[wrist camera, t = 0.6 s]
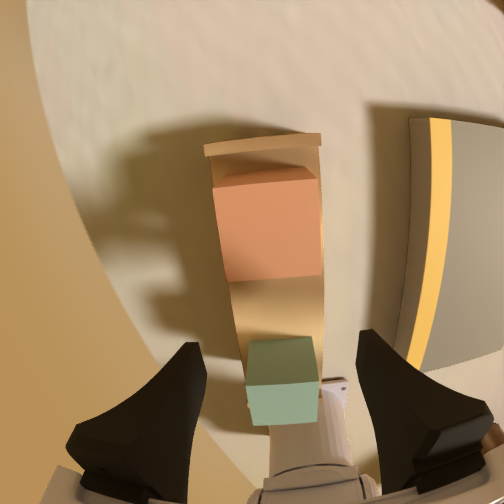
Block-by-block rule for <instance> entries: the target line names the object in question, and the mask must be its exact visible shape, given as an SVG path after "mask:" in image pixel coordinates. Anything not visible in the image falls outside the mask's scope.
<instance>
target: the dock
mask: <svg viewBox="0 0 504 504" xmlns="http://www.w3.org/2000/svg"><path fill="white" fill-rule="evenodd" d="M409 132H410V154H411V202H410V225H409V240H408V252H407V262H406V271H405V280H404V287H403V295H402V301H401V308H400V314H399V320H398V326H397V331H396V336H395V341H394V346H393V349H394V350H395V351H396V352H397V353H398V354H399V355H400V356H401V357H402V358H403V359H405V360H406V361H407V362H408V363H410V364H411V365H412V366H413V367H415V368H416V369H417V370H419V371H420V372H422V373H424V372H428V371H432V370H436V369H440V368H444V367H448V366H451V365H455V364H458V363H462V362H465V361H468V360H472V359H475V358H478V357H481V356H484V355H487V354H490V353H493V352H496V351H499V350H501V349H502V347H503V344H504V128H500V127H495V126H489V125H483V124H477V123H471V122H463V121H456V120H448V119H439V118H409Z"/></svg>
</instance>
